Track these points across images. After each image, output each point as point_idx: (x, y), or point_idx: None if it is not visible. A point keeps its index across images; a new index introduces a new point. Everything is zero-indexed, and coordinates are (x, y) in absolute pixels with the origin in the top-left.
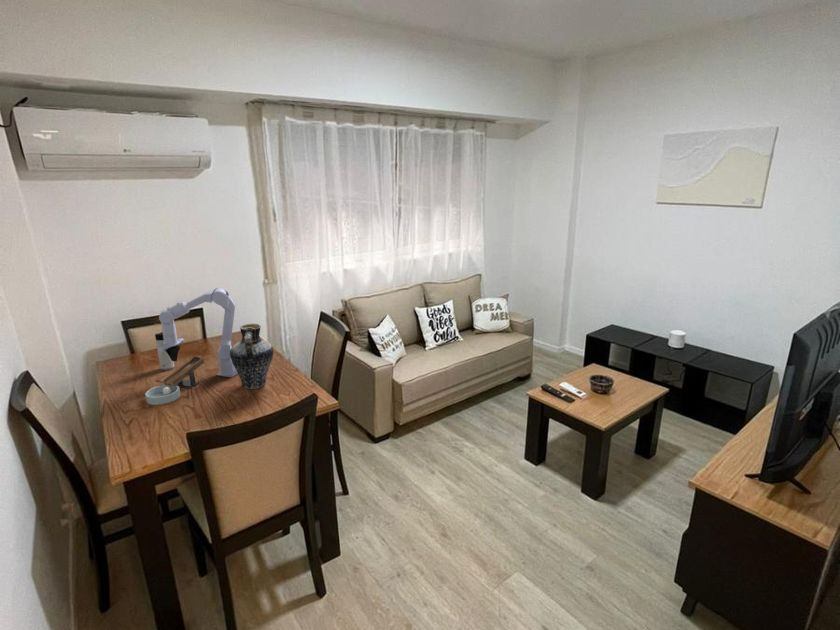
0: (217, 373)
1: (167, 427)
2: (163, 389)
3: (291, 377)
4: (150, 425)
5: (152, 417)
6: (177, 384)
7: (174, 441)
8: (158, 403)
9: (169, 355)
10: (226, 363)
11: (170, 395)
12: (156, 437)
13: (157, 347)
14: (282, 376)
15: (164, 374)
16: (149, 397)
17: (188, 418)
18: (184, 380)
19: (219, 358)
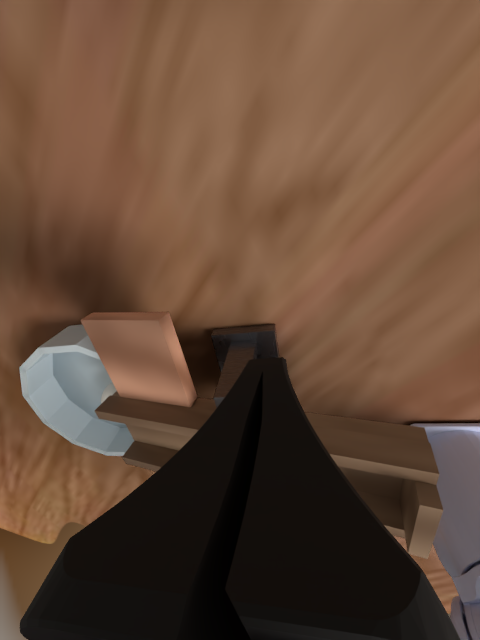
0: (424, 427)
1: (56, 494)
2: (101, 403)
3: (445, 599)
4: (25, 462)
5: (39, 441)
6: (216, 354)
7: (51, 525)
8: (76, 408)
9: (214, 424)
10: (449, 554)
11: (104, 451)
12: (26, 497)
13: None
14: (450, 585)
15: (148, 342)
16: (31, 403)
17: (110, 507)
18: (268, 353)
19: (473, 576)
